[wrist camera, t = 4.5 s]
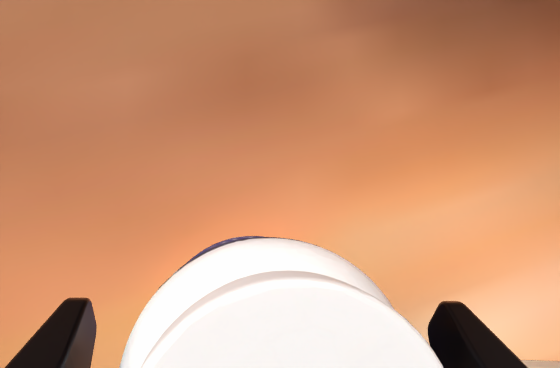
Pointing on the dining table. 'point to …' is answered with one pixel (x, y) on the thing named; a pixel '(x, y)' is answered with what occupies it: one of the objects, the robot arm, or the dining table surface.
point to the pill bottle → (272, 313)
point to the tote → (541, 364)
